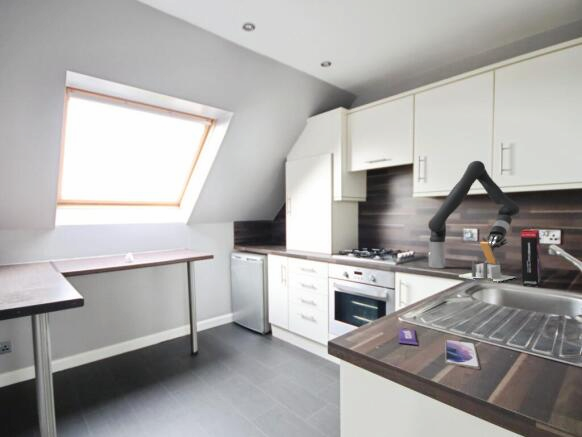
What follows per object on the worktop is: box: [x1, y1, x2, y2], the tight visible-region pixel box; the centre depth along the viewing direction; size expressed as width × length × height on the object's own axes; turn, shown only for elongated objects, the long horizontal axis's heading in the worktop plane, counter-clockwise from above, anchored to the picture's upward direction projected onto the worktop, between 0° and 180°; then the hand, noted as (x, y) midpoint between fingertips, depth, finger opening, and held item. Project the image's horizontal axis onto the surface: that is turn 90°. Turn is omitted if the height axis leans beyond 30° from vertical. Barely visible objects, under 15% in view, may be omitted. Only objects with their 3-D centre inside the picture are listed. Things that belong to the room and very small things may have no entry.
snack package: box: [397, 327, 419, 346], centre depth 89 cm, size 12×2×5 cm
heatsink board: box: [458, 260, 517, 282], centre depth 171 cm, size 20×20×10 cm
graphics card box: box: [520, 228, 542, 287], centre depth 155 cm, size 17×7×27 cm, turn 138°
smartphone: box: [445, 339, 481, 370], centre depth 78 cm, size 7×1×15 cm
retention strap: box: [479, 241, 497, 265], centre depth 172 cm, size 4×1×16 cm
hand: (489, 251), depth 172 cm, fingers closed
